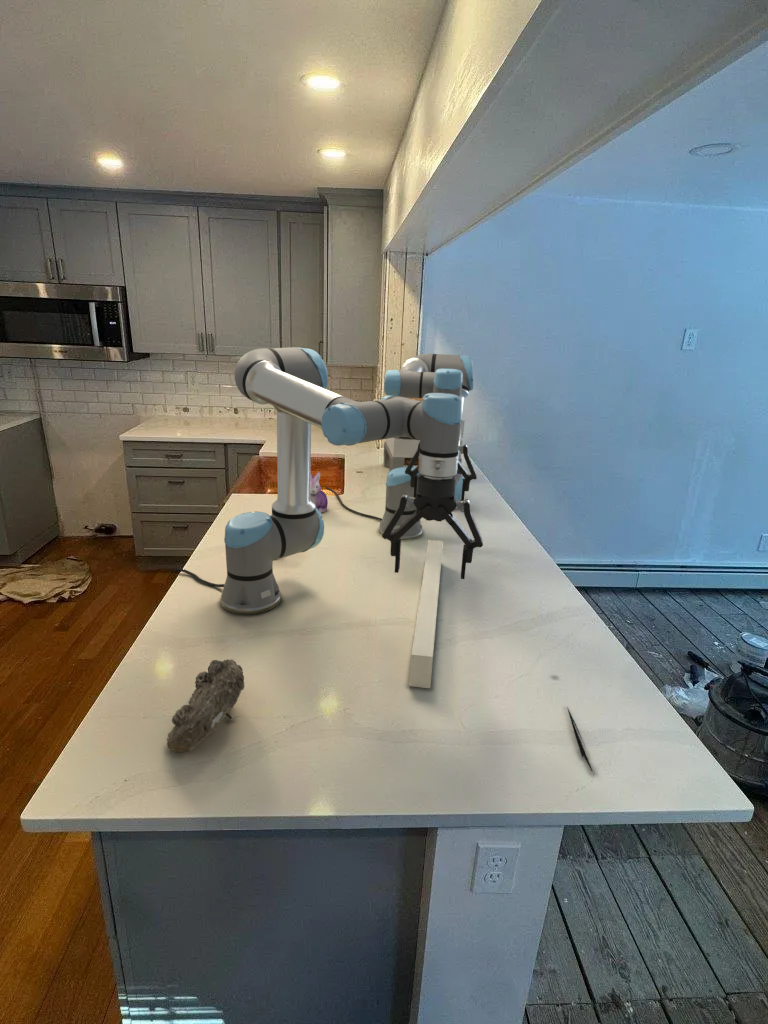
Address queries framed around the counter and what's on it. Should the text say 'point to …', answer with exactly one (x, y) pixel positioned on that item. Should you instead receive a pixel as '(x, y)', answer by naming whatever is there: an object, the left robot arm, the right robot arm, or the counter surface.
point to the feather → (579, 740)
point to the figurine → (317, 493)
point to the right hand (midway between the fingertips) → (438, 499)
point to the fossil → (206, 705)
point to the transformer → (405, 449)
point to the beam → (426, 618)
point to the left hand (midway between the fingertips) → (429, 573)
